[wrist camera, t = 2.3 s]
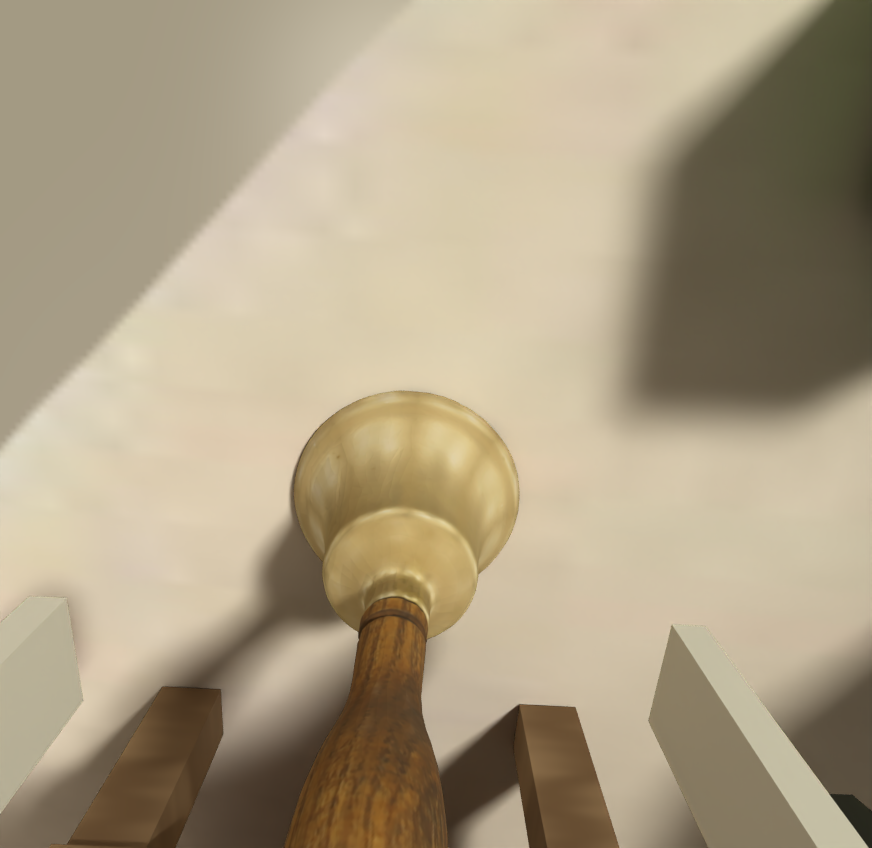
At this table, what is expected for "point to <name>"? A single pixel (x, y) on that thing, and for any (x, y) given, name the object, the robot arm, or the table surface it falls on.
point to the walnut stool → (203, 729)
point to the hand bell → (394, 598)
